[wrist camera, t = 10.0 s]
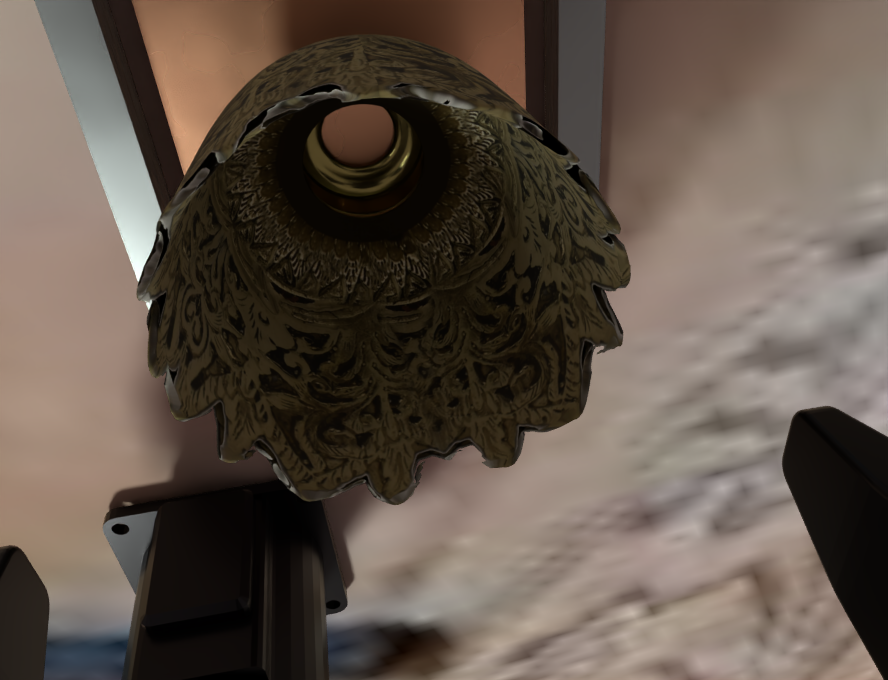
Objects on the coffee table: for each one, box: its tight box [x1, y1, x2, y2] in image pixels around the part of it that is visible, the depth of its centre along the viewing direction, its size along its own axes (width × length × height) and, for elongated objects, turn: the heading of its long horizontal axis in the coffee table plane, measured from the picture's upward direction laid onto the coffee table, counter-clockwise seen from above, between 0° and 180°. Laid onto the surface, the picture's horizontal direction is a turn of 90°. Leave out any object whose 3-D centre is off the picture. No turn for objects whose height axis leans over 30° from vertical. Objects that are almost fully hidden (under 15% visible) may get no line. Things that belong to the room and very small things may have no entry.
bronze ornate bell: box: [137, 34, 631, 505], centre depth 15 cm, size 8×7×8 cm
